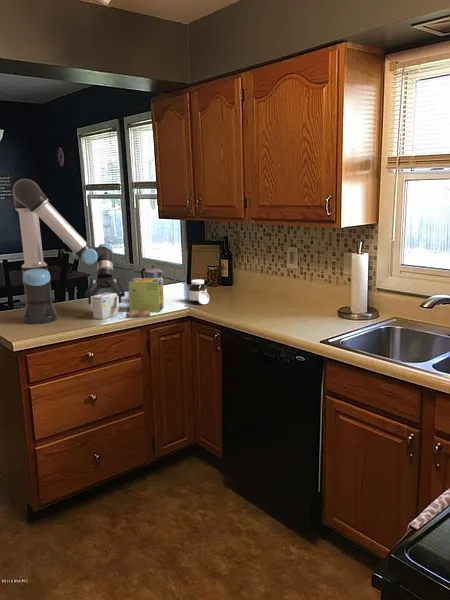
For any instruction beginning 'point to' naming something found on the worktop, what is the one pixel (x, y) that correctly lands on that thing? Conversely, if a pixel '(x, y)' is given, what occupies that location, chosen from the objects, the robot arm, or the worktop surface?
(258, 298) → the worktop surface
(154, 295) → the protein box
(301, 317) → the worktop surface
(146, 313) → the walnut coaster board
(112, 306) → the light bulb box
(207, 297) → the spread jar
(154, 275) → the moka pot
